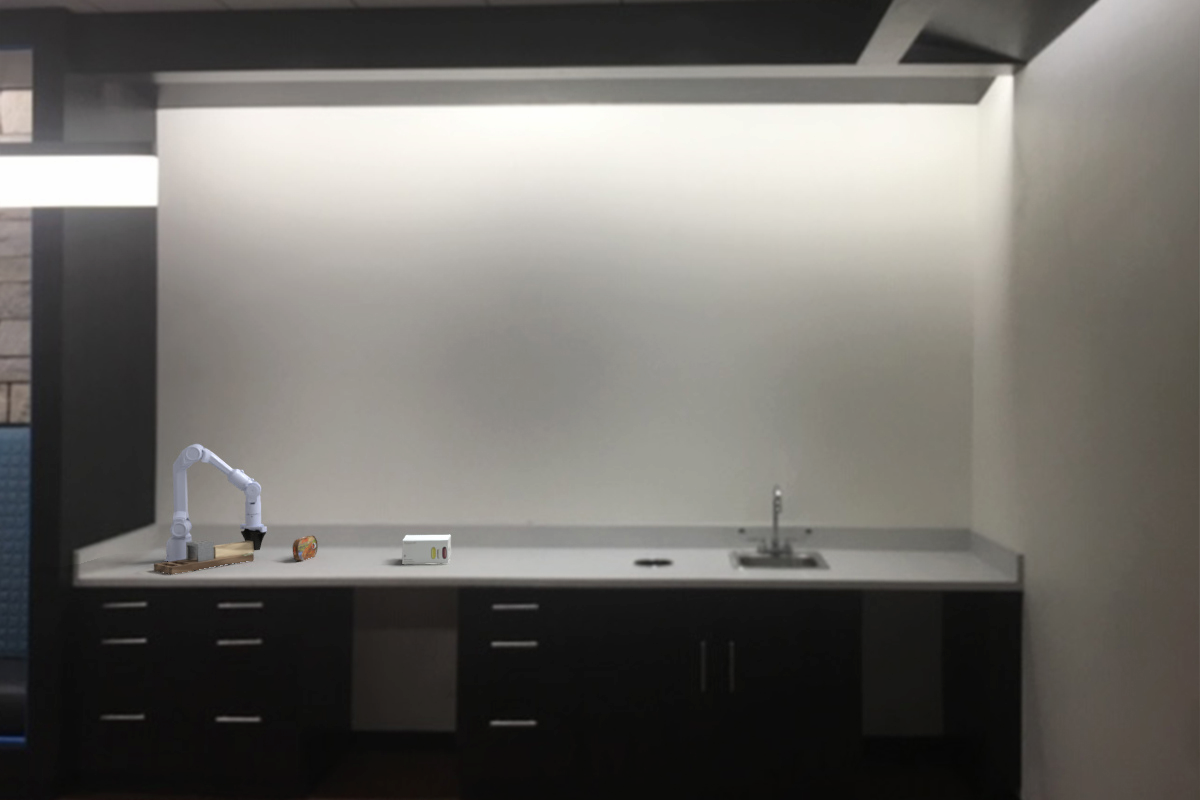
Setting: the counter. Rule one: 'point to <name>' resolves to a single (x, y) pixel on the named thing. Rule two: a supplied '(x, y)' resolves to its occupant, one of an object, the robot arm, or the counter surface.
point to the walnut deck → (200, 563)
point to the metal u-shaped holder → (200, 550)
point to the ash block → (233, 549)
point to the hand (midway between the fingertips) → (253, 549)
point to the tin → (305, 548)
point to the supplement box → (426, 549)
